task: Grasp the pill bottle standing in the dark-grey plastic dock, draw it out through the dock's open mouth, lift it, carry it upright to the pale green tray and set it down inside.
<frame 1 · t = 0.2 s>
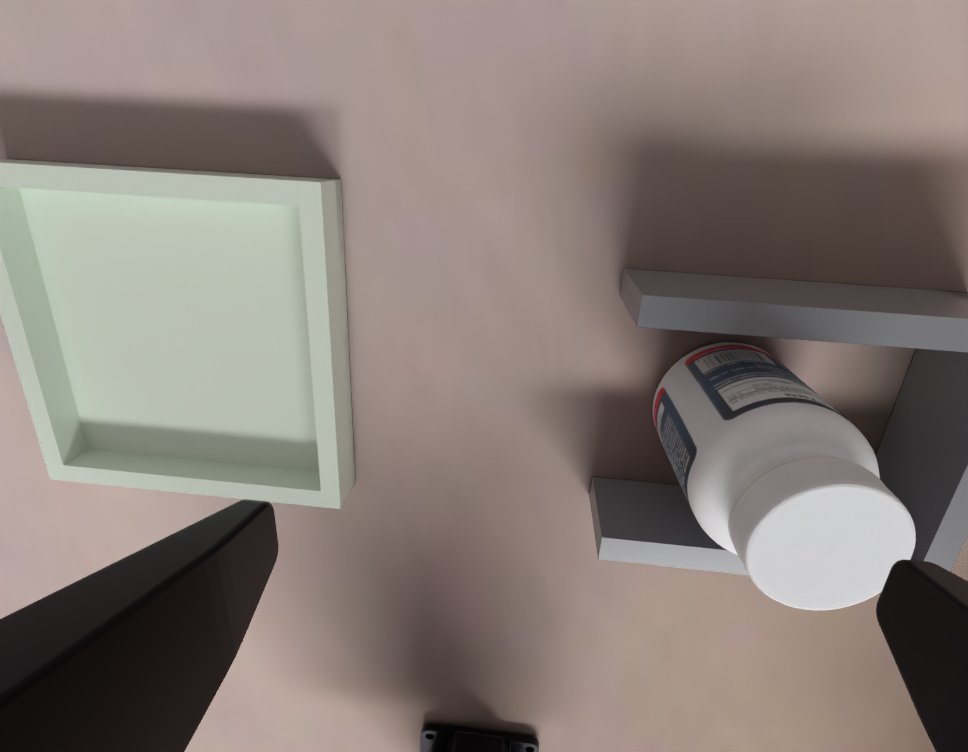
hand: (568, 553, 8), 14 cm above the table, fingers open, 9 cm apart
tray: (196, 335, 23), on the table
pill bottle: (717, 399, 22), on the table
dock: (732, 403, 22), on the table
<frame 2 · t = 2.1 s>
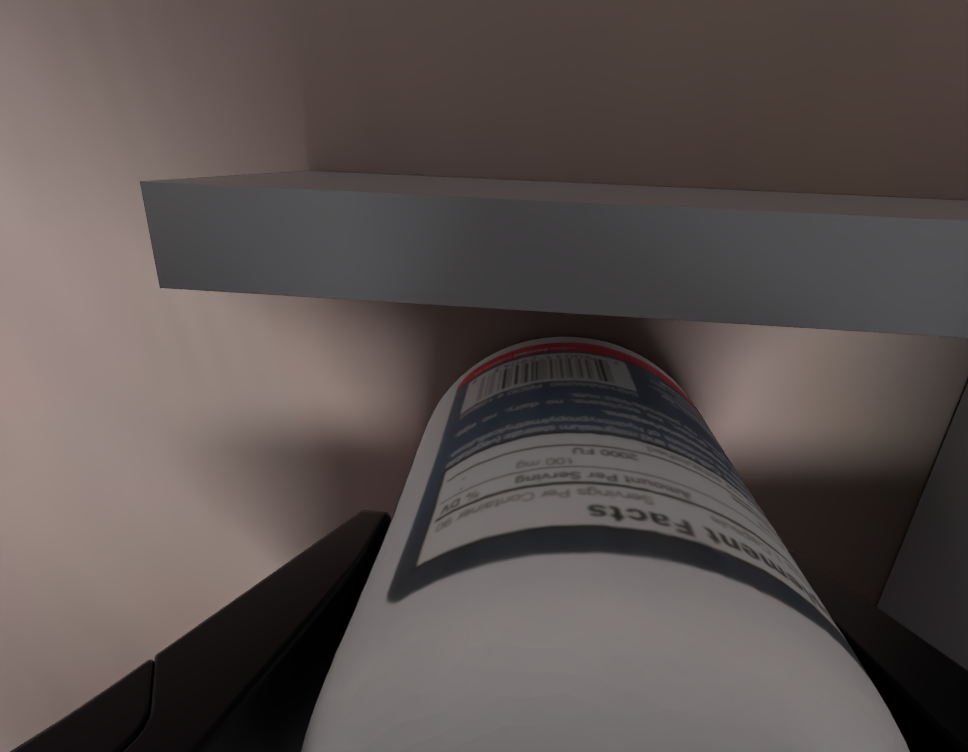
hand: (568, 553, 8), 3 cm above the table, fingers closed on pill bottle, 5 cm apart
pill bottle: (561, 457, 11), on the table, touching gripper
dock: (588, 465, 10), on the table
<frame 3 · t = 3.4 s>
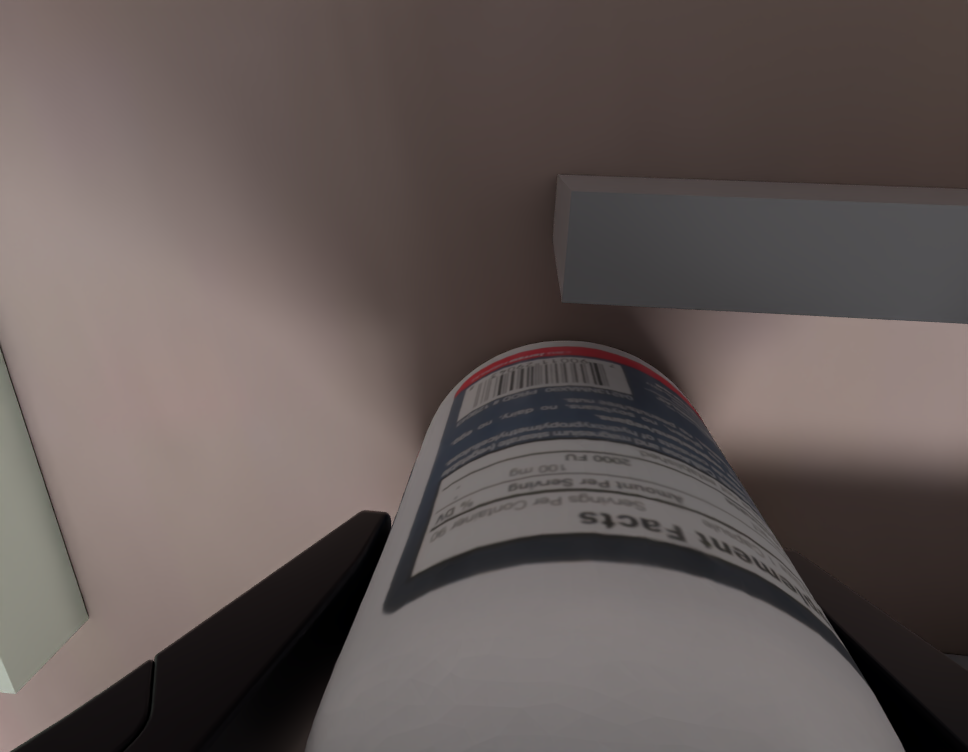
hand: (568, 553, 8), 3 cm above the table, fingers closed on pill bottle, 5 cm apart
pill bottle: (561, 460, 11), on the table, touching gripper
dock: (809, 474, 10), on the table
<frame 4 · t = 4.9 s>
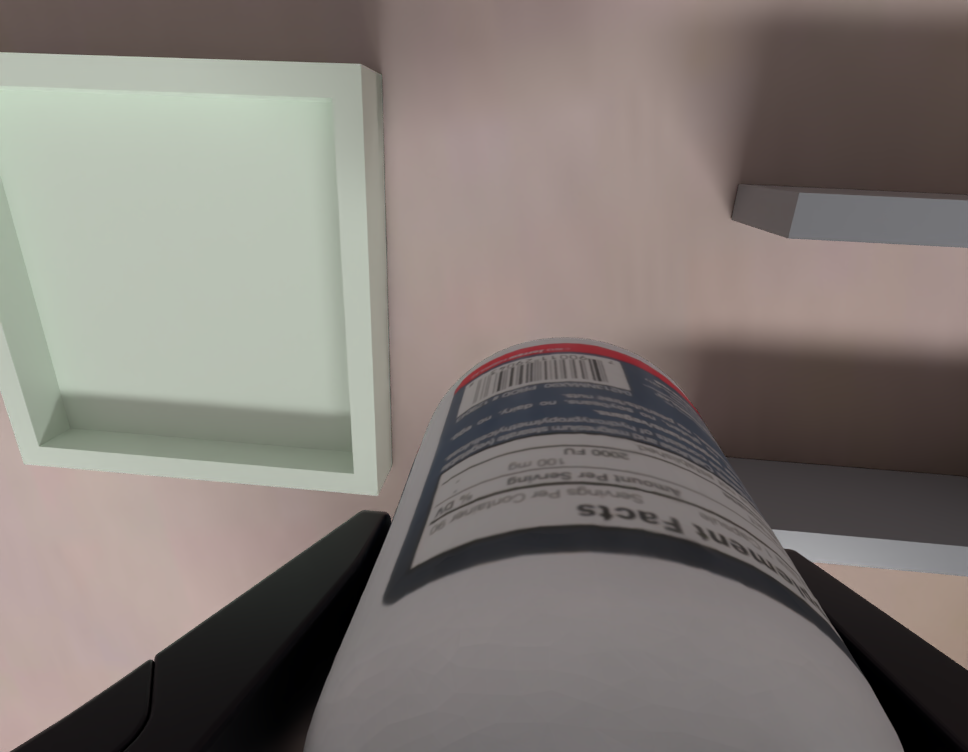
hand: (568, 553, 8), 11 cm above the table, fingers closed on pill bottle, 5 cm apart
tray: (200, 284, 19), on the table
pill bottle: (561, 457, 11), point 8 cm above the table, touching gripper
dock: (865, 357, 17), on the table
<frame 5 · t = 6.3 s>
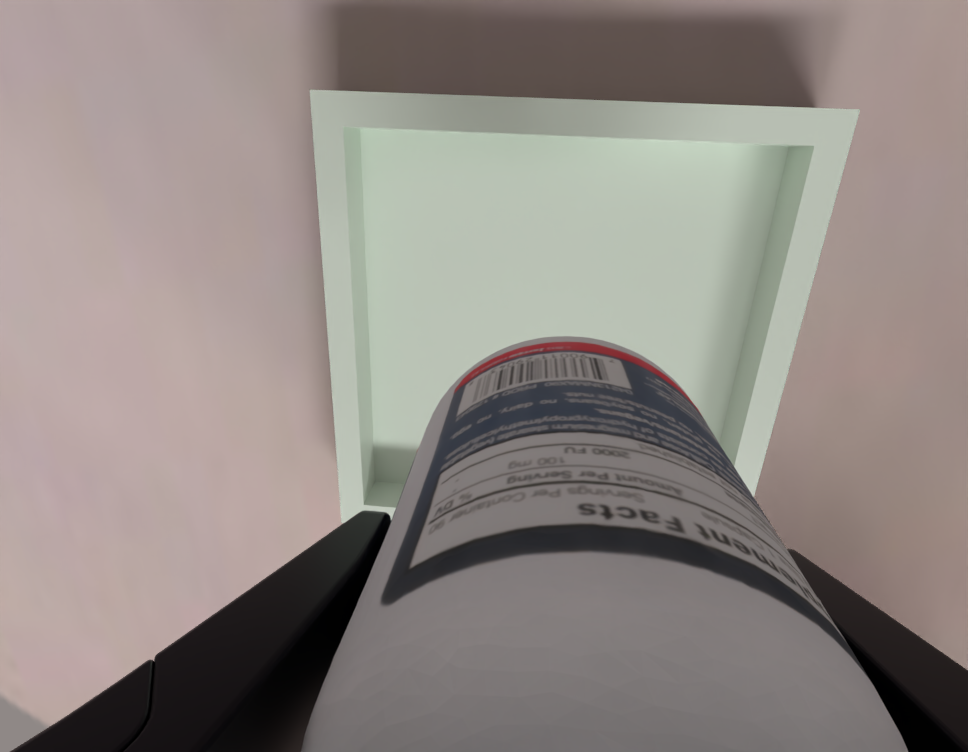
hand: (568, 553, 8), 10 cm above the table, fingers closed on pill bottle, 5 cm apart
tray: (550, 333, 17), on the table
pill bottle: (561, 456, 11), point 7 cm above the table, touching gripper
when the fingers open (4 cm above the table, at t = 7.7 s): pill bottle stays where it is, resting on tray.
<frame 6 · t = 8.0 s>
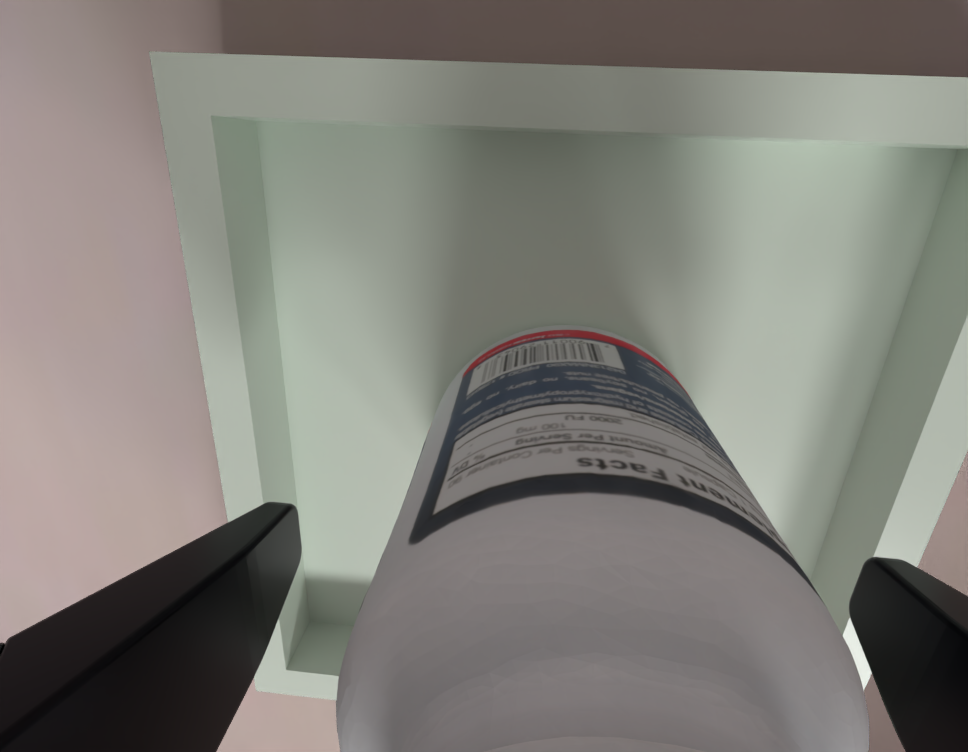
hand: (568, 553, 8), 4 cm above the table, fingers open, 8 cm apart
tray: (558, 426, 12), on the table
pill bottle: (561, 438, 11), resting on tray
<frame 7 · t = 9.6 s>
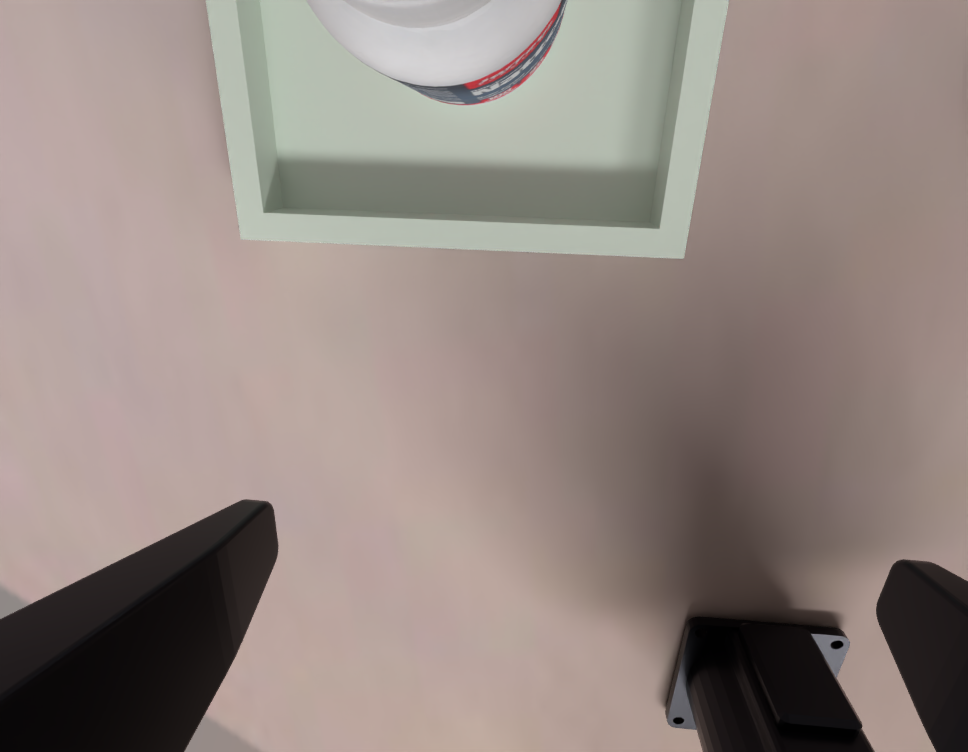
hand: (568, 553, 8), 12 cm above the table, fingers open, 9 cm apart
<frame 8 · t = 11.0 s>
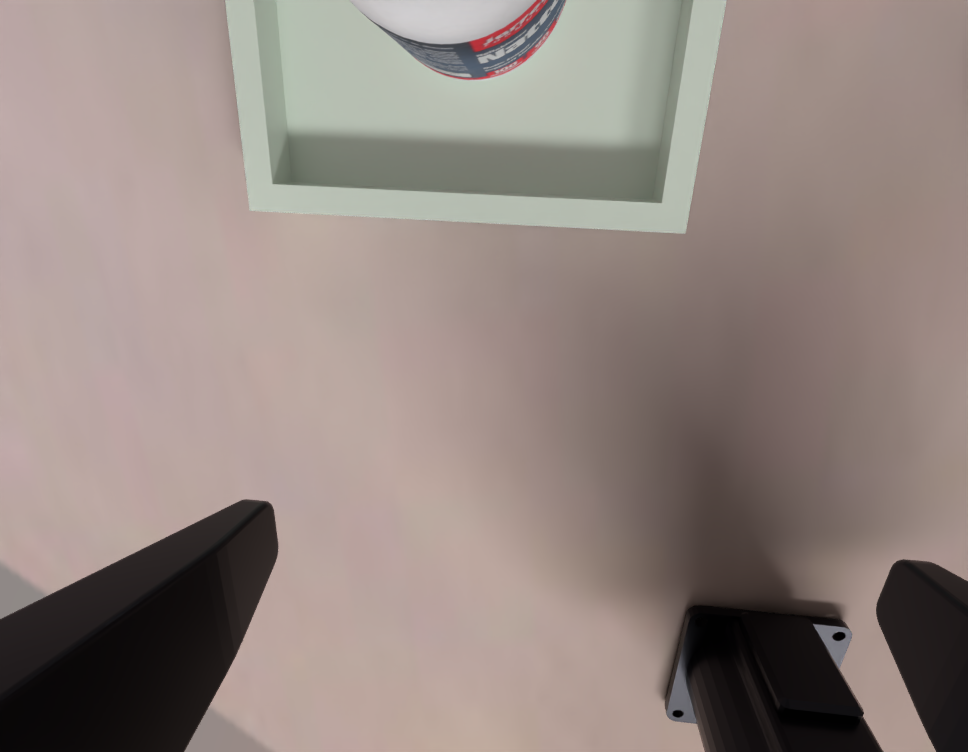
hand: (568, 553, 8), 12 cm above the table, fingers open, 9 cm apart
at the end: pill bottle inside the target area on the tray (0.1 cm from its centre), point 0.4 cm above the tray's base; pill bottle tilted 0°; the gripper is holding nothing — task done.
